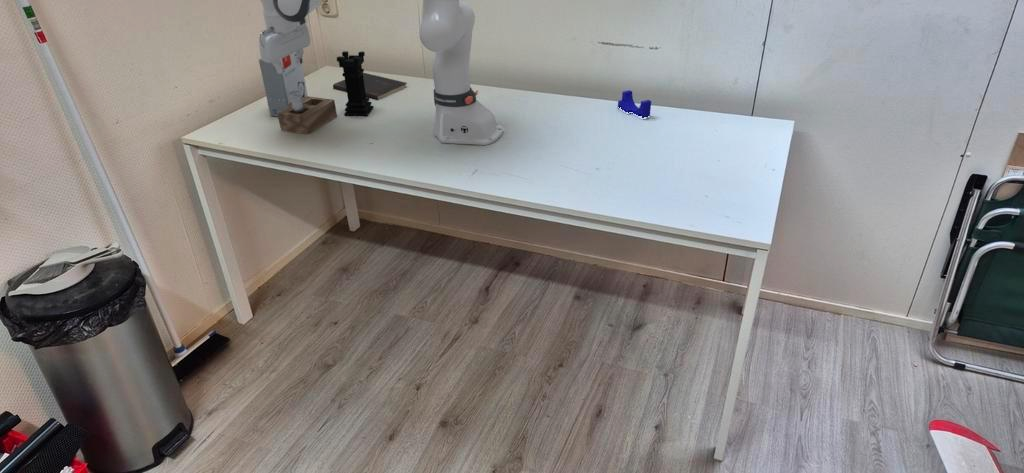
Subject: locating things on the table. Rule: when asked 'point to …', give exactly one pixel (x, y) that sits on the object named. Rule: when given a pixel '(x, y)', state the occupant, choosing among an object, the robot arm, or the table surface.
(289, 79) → the hard drive box
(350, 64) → the chess piece
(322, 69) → the table surface
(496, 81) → the table surface
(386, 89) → the hardcover book
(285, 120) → the bore block
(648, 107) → the cable clip
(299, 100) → the pin
